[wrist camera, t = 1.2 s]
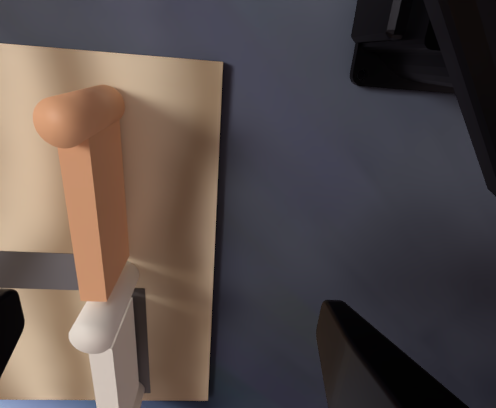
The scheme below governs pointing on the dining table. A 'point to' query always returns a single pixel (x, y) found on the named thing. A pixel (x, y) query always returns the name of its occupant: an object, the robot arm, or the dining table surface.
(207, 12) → the dining table surface
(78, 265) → the gate panel
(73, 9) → the dining table surface
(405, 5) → the robot arm
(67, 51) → the card
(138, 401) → the fence fixed
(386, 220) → the dining table surface
